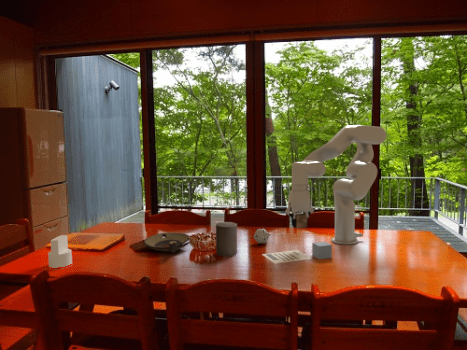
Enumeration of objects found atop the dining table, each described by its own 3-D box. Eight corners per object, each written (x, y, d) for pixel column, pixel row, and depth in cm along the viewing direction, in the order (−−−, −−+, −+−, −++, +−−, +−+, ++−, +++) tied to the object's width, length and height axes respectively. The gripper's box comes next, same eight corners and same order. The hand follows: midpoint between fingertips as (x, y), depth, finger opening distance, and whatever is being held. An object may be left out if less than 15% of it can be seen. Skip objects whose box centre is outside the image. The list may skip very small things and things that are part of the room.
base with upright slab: (55, 262, 167) (53, 235, 166) (75, 262, 167) (74, 235, 166) (44, 269, 158) (43, 240, 157) (66, 268, 158) (64, 240, 157)
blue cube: (324, 254, 171) (324, 241, 171) (331, 258, 165) (331, 244, 165) (312, 256, 169) (312, 242, 169) (319, 260, 164) (319, 246, 163)
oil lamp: (194, 241, 197) (193, 227, 197) (185, 259, 167) (184, 242, 167) (151, 242, 198) (150, 227, 197) (134, 260, 168) (134, 243, 167)
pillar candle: (212, 255, 173) (212, 222, 171) (220, 249, 182) (220, 218, 180) (233, 257, 169) (232, 224, 168) (240, 251, 178) (240, 219, 177)
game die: (264, 252, 189) (269, 239, 183) (248, 245, 191) (252, 232, 184) (269, 239, 196) (274, 226, 190) (254, 233, 198) (258, 220, 191)
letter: (297, 250, 178) (297, 250, 178) (313, 259, 165) (313, 258, 165) (261, 254, 172) (261, 254, 172) (274, 263, 159) (274, 263, 159)
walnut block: (301, 225, 184) (301, 213, 183) (306, 227, 179) (306, 214, 179) (292, 226, 182) (292, 213, 182) (297, 228, 178) (297, 215, 177)
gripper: (311, 186, 186) (311, 223, 187) (279, 188, 180) (279, 226, 182) (320, 188, 178) (319, 226, 180) (287, 189, 173) (286, 229, 175)
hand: (299, 225), depth 181 cm, fingers closed on walnut block, 5 cm apart
